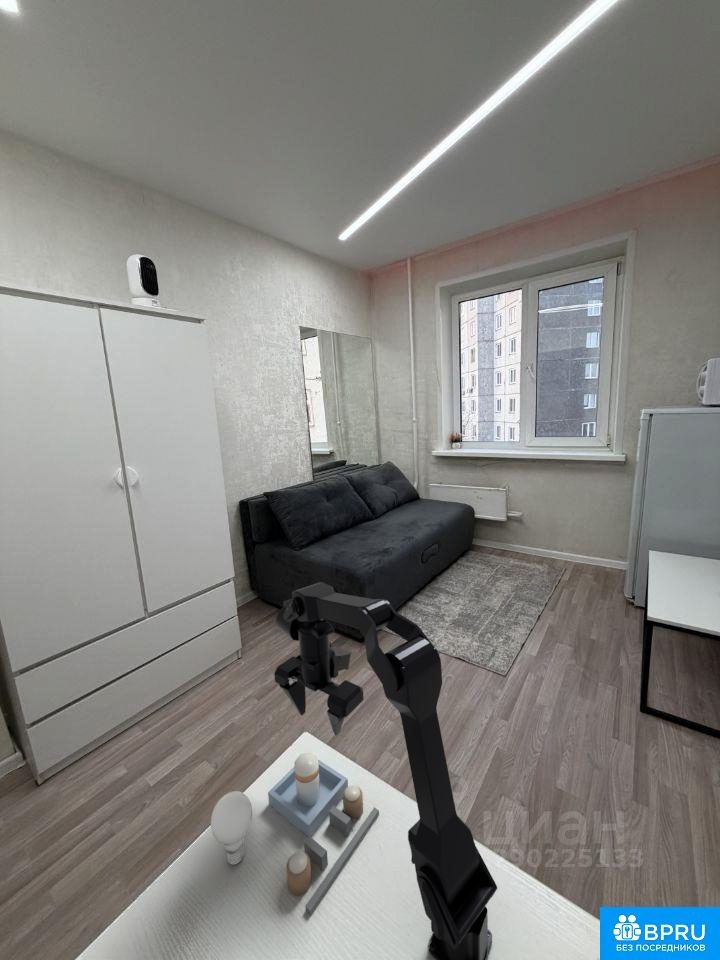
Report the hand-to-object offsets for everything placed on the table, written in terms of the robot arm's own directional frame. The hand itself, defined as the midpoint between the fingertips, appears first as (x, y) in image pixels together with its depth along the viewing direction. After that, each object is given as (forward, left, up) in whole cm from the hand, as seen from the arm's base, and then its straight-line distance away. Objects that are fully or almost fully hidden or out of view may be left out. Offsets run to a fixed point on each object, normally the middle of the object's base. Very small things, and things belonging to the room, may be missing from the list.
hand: (319, 723), depth 74 cm
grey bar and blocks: (-10, +8, -12) cm, 18 cm away
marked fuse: (-1, +5, -12) cm, 12 cm away
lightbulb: (+2, +19, -12) cm, 23 cm away
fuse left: (-9, +15, -12) cm, 21 cm away
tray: (-1, +4, -12) cm, 13 cm away
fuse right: (-9, +2, -12) cm, 15 cm away
